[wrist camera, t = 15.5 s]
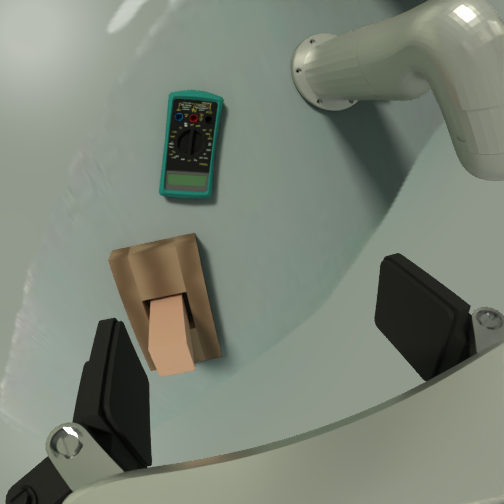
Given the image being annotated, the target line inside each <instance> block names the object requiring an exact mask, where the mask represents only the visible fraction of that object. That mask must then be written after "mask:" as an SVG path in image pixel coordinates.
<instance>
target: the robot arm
mask: <svg viewBox="0 0 504 504" xmlns="http://www.w3.org/2000/svg"><path fill="white" fill-rule="evenodd" d="M310 41H311V43H310ZM291 70H292V77H293V80H294V83H295V85H296V87H297V89H298V91H299V92H300V94H301V95H302V96H303V97H304V98H305V99H306V100H307V101H308V102H310V103H311V104H312V105H314V106H316V107H318V108H320V109H324V110H330V111H340V110H344V109H347V108H349V107H351V106H353V105H354V104H355V103H357V102H358V101H359V100H393V101H397V100H399V101H406V100H413V99H416V98H419V97H421V96H422V95H424V94H426V93H427V92H428V91H429V90H430V89H432V91H433V94H434V96H435V99H436V101H437V103H438V104H439V107H440V109H441V112H442V114H443V117H444V120H445V122H446V125H447V128H448V131H449V134H450V137H451V140H452V143H453V146H454V148H455V151H456V154H457V156H458V158H459V161H460V162H461V164H462V165H463V167H464V168H465V169H466V170H467V171H468V172H469V173H470V174H472V175H473V176H475V177H478V178H480V179H484V180H490V181H504V22H503V20H502V19H501V17H500V16H499V14H498V13H497V12H496V10H495V9H494V8H493V7H492V6H491V5H490V4H489V3H488V2H487V1H485V0H428V1H426V2H424V3H422V4H420V5H418V6H416V7H415V8H413V9H411V10H408V11H406V12H404V13H402V14H399V15H397V16H394V17H391V18H388V19H386V20H383V21H379V22H376V23H373V24H370V25H368V26H365V27H362V28H359V29H356V30H353V31H351V32H348V33H345V34H343V35H340V36H337V35H334V34H328V33H326V34H317V35H313V36H311V37H309V38H307V39H306V40H304V41H303V42H302V43H301V44H300V45H299V46H298V47H297V49H296V51H295V52H294V55H293V58H292V64H291ZM296 70H297V71H298V73H297V72H296ZM317 100H318V103H317ZM469 310H470V305H469V304H467V303H466V302H465V301H464V300H462V299H461V298H460V297H459V296H457V295H456V294H455V293H453V292H452V291H451V290H449V289H448V288H447V287H445V286H444V285H443V284H441V283H440V282H439V281H437V280H436V279H435V278H433V277H432V276H431V275H429V274H428V273H426V272H425V271H424V270H422V269H421V268H420V267H418V266H417V265H415V264H414V263H413V262H411V261H410V260H408V259H407V258H406V257H404V256H403V255H401V254H399V253H396V254H393V255H389V256H386V257H385V258H384V260H383V261H382V262H381V265H380V275H379V285H378V294H377V303H376V311H375V324H376V326H377V327H378V329H379V330H380V331H381V332H382V333H383V334H384V335H385V336H386V338H388V340H389V341H390V342H391V343H392V344H393V345H394V347H395V348H396V349H397V350H398V351H399V352H400V353H401V354H402V356H403V357H404V358H405V359H406V360H407V361H408V362H409V364H410V365H411V366H412V367H413V368H414V369H415V370H416V372H417V373H418V374H419V375H420V376H421V377H422V379H423V380H425V381H427V382H425V383H423V384H421V385H419V386H417V387H415V388H413V389H411V390H409V391H407V392H405V393H403V394H401V395H399V396H397V397H395V398H392V399H390V400H388V401H386V402H384V403H381V404H379V405H377V406H375V407H372V408H370V409H368V410H365V411H363V412H360V413H358V414H355V415H353V416H350V417H348V418H345V419H343V420H340V421H337V422H335V423H332V424H329V425H326V426H324V427H321V428H318V429H315V430H312V431H309V432H306V433H303V434H300V435H296V436H294V437H290V438H287V439H284V440H280V441H277V442H273V443H269V444H266V445H262V446H258V447H255V448H250V449H246V450H242V451H238V452H233V453H229V454H224V455H219V456H214V457H210V458H204V459H199V460H194V461H188V462H182V463H176V464H169V465H163V466H157V467H151V468H147V466H151V465H152V456H151V437H150V404H149V381H148V378H147V375H146V373H145V371H144V369H143V367H142V364H141V362H140V360H139V358H138V356H137V353H136V351H135V349H134V347H133V344H132V342H131V340H130V337H129V335H128V333H127V330H126V328H125V325H124V323H123V322H122V321H119V322H118V320H117V319H116V318H111V319H106V320H100V321H99V323H98V327H97V331H96V335H95V339H94V343H93V347H92V351H91V355H90V360H89V361H87V362H86V363H85V364H84V367H83V372H82V376H81V381H80V385H79V390H78V395H77V400H76V406H75V411H74V417H73V422H72V423H64V424H61V425H59V426H57V427H55V428H54V429H53V430H52V431H51V432H50V434H49V436H48V437H47V440H46V452H47V454H48V457H47V458H45V459H44V460H43V461H42V462H41V463H39V464H38V465H37V466H36V467H35V468H33V469H32V470H31V471H30V472H29V473H28V474H26V475H25V476H24V477H23V478H21V479H20V480H19V481H18V482H17V483H16V484H14V485H13V486H12V487H11V488H10V490H9V491H8V493H7V495H6V504H504V316H503V315H502V314H501V313H500V312H499V311H497V310H495V309H493V308H488V307H481V308H477V309H476V310H474V312H473V313H472V315H471V314H469Z"/></svg>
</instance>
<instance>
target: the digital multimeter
mask: <svg viewBox="0 0 504 504" xmlns="http://www.w3.org/2000/svg"><path fill="white" fill-rule="evenodd" d="M223 101H224V100H223V98H222V97H220V96H217V95H214V94H211V93H208V92H204V91H196V90H187V91H178V92H172V93H170V94H169V99H168V112H167V123H166V135H165V145H164V154H163V164H162V171H161V180H160V188H159V194H160V195H162V196H168V197H177V198H210V197H211V195H212V182H213V168H214V158H215V149H216V141H217V135H218V128H219V122H220V117H221V111H222V106H223ZM215 122H216V123H215ZM204 146H205V147H204Z"/></svg>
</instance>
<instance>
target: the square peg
mask: <svg viewBox="0 0 504 504" xmlns="http://www.w3.org/2000/svg"><path fill="white" fill-rule="evenodd" d="M148 351H149V353H150V355H151V358H152V360H153V362H154V365H155V367H156V369H157V371H158V374H159V376H160V377H161V376H167V375H172V374H178V373H183V372H188V371H193V370H196V369H195V363H194V356H193V349H192V342H191V335H190V327H189V319H188V312H187V308H186V304H185V301H184V297H183V293H178V294H173V295H168V296H163V297H158V298H153V299H151V303H150V320H149V345H148Z"/></svg>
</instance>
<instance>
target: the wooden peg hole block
mask: <svg viewBox="0 0 504 504" xmlns="http://www.w3.org/2000/svg"><path fill="white" fill-rule="evenodd" d="M108 261H109V264H110V267H111V270H112V273H113V276H114V279H115V282H116V285H117V288H118V291H119V293H120V296H121V299H122V302H123V304H124V307H125V310H126V312H127V315H128V318H129V320H130V323H131V325H132V328H133V330H134V333H135V335H136V338H137V340H138V342H139V345H140V347H141V349H142V352H143V354H144V356H145V359H146V361H147V363H148V365H149V368H150V370H151V371H153V370H157V369H156V367H155V365H154V362H153V360H152V358H151V355H150V353H149V351H148V345H149V320H150V309H149V306H148V303H147V300H149V299H153V298H158V297H163V296H168V295H173V294H178V293H183V292H187V296H188V300H189V304H190V308H191V311H192V315H193V316H190V317H188V319H189V327H190V335H191V342H192V349H193V356H194V363H196V362H201V361H205V360H210V359H215V358H219V357H222V355H221V351H220V347H219V343H218V338H217V334H216V330H215V326H214V321H213V317H212V313H211V308H210V304H209V299H208V295H207V290H206V286H205V281H204V276H203V272H202V267H201V262H200V257H199V252H198V247H197V242H196V238H195V233H193V234H188V235H183V236H178V237H173V238H169V239H164V240H159V241H155V242H150V243H145V244H141V245H136V246H131V247H127V248H122V249H118V250H113V251H112V253H111V255H110V258H109V260H108Z"/></svg>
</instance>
